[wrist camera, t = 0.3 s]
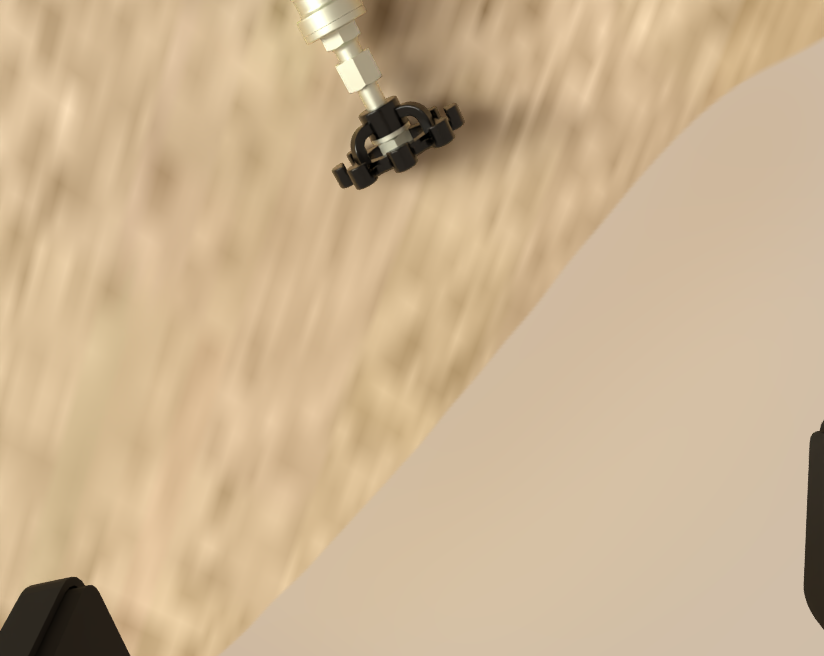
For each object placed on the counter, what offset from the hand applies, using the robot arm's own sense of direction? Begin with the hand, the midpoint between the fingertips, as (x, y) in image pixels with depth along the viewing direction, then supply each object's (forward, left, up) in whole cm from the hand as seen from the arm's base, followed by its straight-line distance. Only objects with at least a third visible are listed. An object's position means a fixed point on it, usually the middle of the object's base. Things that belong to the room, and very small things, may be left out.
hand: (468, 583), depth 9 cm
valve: (-6, -1, -31) cm, 31 cm away
